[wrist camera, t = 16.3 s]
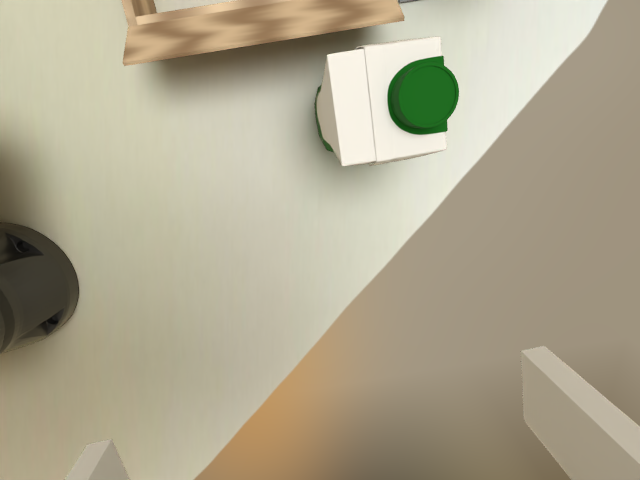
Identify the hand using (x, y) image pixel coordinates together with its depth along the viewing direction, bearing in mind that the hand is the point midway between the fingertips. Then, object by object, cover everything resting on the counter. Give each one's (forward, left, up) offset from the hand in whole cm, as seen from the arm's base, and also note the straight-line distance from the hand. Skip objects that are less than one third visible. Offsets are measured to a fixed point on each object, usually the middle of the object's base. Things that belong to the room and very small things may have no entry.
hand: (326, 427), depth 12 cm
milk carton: (+7, +10, -36) cm, 38 cm away
